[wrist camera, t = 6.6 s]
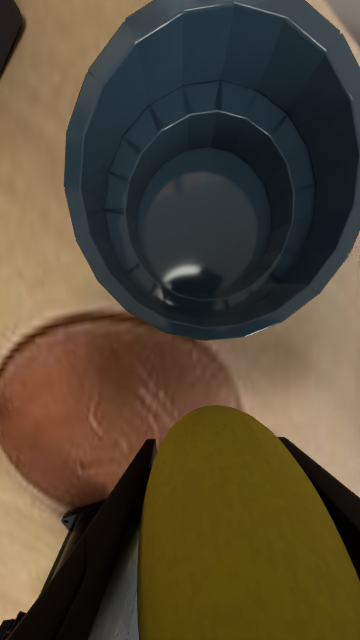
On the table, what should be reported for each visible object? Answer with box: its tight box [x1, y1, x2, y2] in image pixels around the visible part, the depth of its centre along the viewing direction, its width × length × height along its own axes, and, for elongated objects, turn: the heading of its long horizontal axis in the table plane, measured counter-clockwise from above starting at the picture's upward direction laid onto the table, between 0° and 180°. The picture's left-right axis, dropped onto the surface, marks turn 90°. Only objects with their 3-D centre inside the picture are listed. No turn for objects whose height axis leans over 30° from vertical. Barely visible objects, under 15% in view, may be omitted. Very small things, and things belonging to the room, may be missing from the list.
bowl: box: [64, 0, 360, 341], centre depth 9 cm, size 12×12×5 cm
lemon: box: [137, 405, 360, 640], centre depth 5 cm, size 6×6×8 cm
